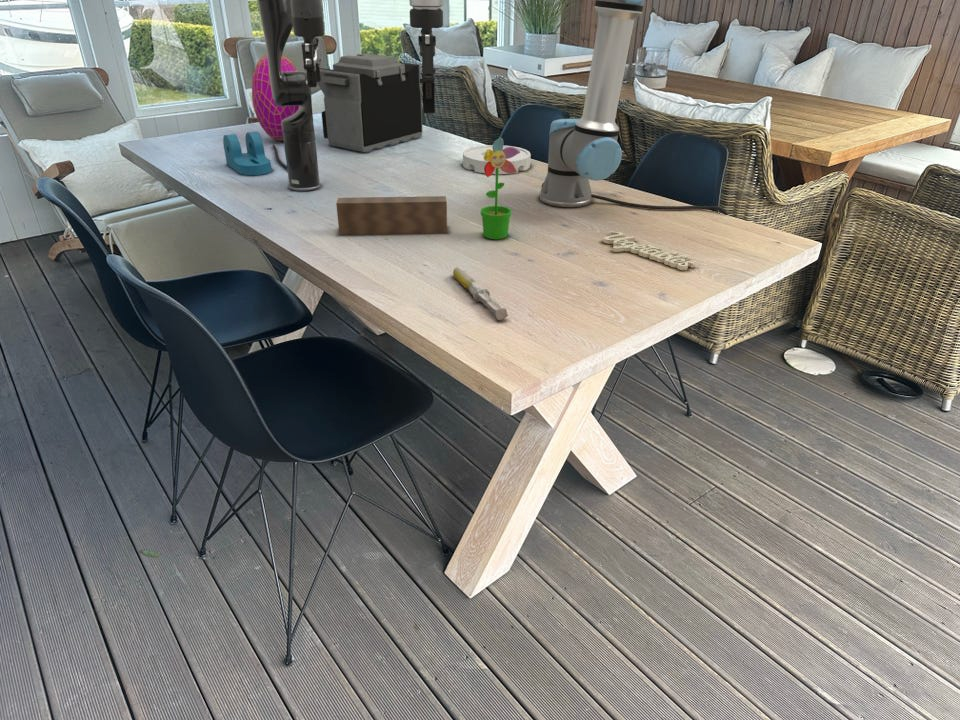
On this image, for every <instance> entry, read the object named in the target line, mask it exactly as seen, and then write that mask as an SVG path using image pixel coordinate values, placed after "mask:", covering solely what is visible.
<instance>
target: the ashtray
mask: <svg viewBox="0 0 960 720" xmlns="http://www.w3.org/2000/svg"><path fill="white" fill-rule="evenodd" d="M506 147H514V148H516V149H518V150H519V151H520V153H519V154H517V155H515V156H514V157H512V158H509V159H505V160H508V161H510V162H511V163H512V164H513V165H514V167H515V168H516V170H517V172H515V173H514V174H517V173H519V172H524V171H527V170H528V169H530V167H531V156H532V154H531V151H529V150H527V149H525V148H522V147H517V146H512V145H503V149H504V148H506ZM487 149H491V150H492V151H493V144H488V145H487V144H486V145H478V146H471V147H469V148H466V149H464V150H463V152H462V166H463V168H464V169H466V170H468V171H474V172H475V173H480V174H485V172H484V167H485V165H486V163H487V162H489V161H485V160H484V155H485V153H486V151H487ZM510 174H512V173H506V172H504V171H502V170H501V169H500V168H499V169H498V175H510ZM491 175H496V168H495V170H494V172H493V173H492V174H491Z"/></svg>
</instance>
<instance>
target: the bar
mask: <svg viewBox="0 0 960 720" xmlns="http://www.w3.org/2000/svg"><path fill="white" fill-rule="evenodd" d="M336 215H337V223H338V225H337V226H338V234H339V236H369V235H370V236H371V235H373V236H375V235H376V236H377V235H422V234H423V235H425V234H429V235H430V234H431V235H432V234H447V233H448V202H447V196H446V195H431V196H430V195H429V196H428V195H427V196H423V195H422V196H367V197H366V196H365V197H364V196H362V197H360V196H357V197H337V199H336Z"/></svg>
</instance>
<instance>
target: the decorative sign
mask: <svg viewBox="0 0 960 720" xmlns="http://www.w3.org/2000/svg"><path fill="white" fill-rule="evenodd" d="M635 241H636V237H635V236H631V235H630V236H624V233H623V232H619V231H612V230H611V231H609V235H607V236H604V237H603V243H604V244H608V245H612V246H613V247H612V252H614V253H621V252H630V253H632V254H636V255H637V254H638V255H639V256H641V257H642V258H649V260H652V261H655V262H658V263H663V264H664V265H665V266H669V267H671V268H676V269H678V270H680V271H687V270H688V268H691V269H693V268H694V267H695V266H694V265H695V262H694V261H691V260H688V258H689V255H685V254H681V255H679V253H678V252H677V251H667V252H663V251H662V248H660V247H659V246H653V245H651V244H647V245H644V244H640V243H636V242H635Z"/></svg>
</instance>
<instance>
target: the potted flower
mask: <svg viewBox="0 0 960 720" xmlns="http://www.w3.org/2000/svg"><path fill="white" fill-rule="evenodd" d="M492 145H493V151H492V150H491V149H487V151H486V153H485V155H484V160H485V161H489V162H487V163H486V165H485V167H484V172H485V173H484V174H485V176H486V177H487V178H490V177H491V176H492V175H493V174H492V173H493V172H494V170H495V168H496V174H495V187H494V188H495V190H494V189H493V190H492V189H491V190H488V191H487V192H486V193H485V195H486V197H488V198H490V199H494V205H488V206H484V207H482V208H481V209H480V217H481V221H482V233H483V236H484V237H485V238H487V239H491V240H502V239H505V238H507V237H508V234H509V227H510V222H511V221H510V219H511V217H512V212H513V211H512V209H511V208H509V207H506V206H503V205H498V204H499V202H498V201H499V190H501V189H502V188H503V187H504V185H505V183H504V182H499V174H498V169H499V168H500V169H501V170H502V171H504V172H506V173H511V174H516V173H515V172H517V170H516V168H515V167H514V165H513V164H512V163H511V162H510V161H508V160H505V159H509V158H512V157H514V156H515V155H517V154H519V153H520V151H519V150H518V149H516V148H514V147H515V146H513V147H506V148H504V149H503V145H504V139H503V137H499V138H498V139H496V140H494V141H493V143H492ZM504 146H505V145H504Z"/></svg>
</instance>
